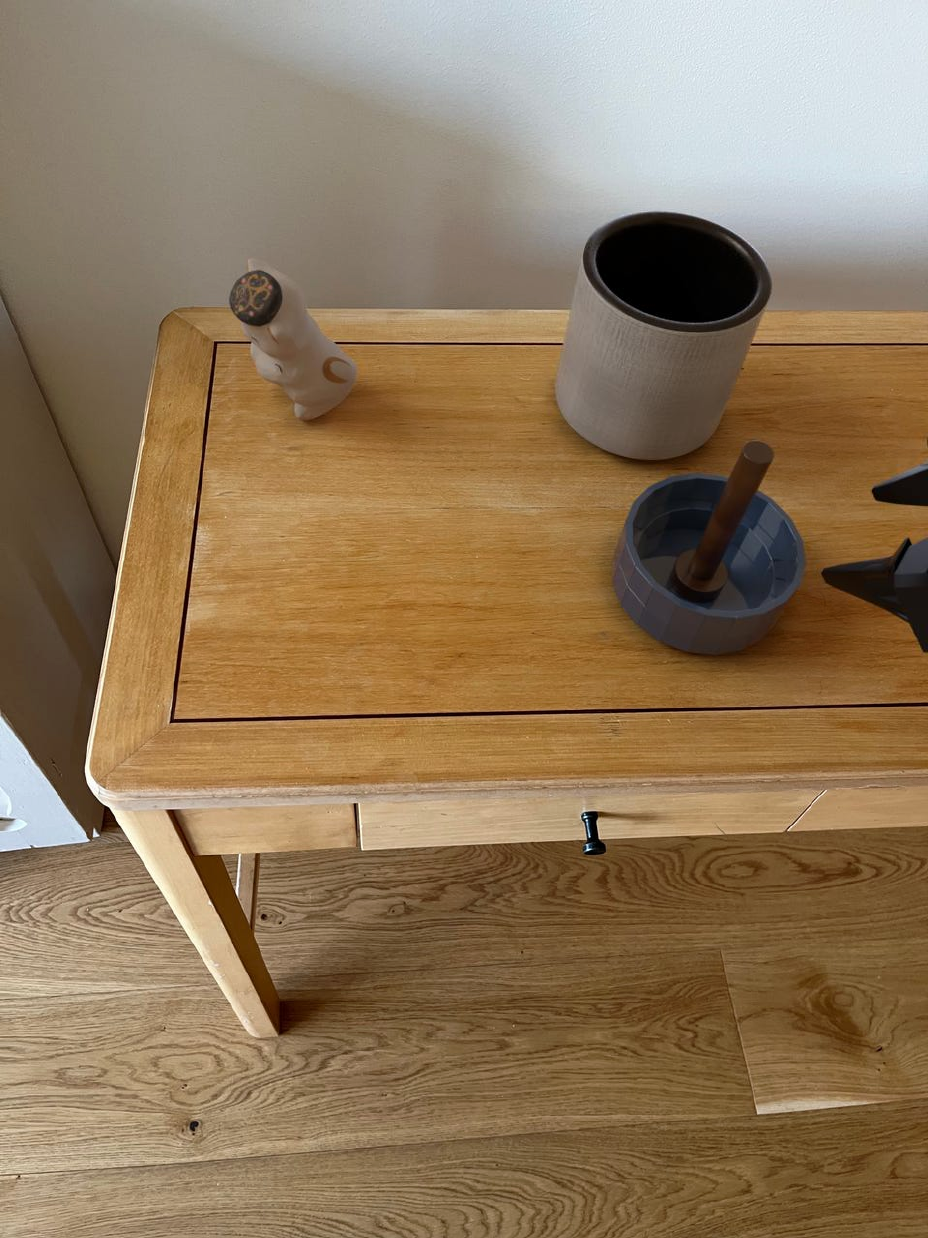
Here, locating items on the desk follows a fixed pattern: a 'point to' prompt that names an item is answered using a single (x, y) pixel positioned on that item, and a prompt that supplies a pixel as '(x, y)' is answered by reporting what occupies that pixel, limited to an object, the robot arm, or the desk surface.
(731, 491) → the stirring stick
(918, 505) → the robot arm
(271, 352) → the figurine
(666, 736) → the desk surface
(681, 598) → the bowl
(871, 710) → the desk surface
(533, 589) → the desk surface
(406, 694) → the desk surface
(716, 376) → the planter
